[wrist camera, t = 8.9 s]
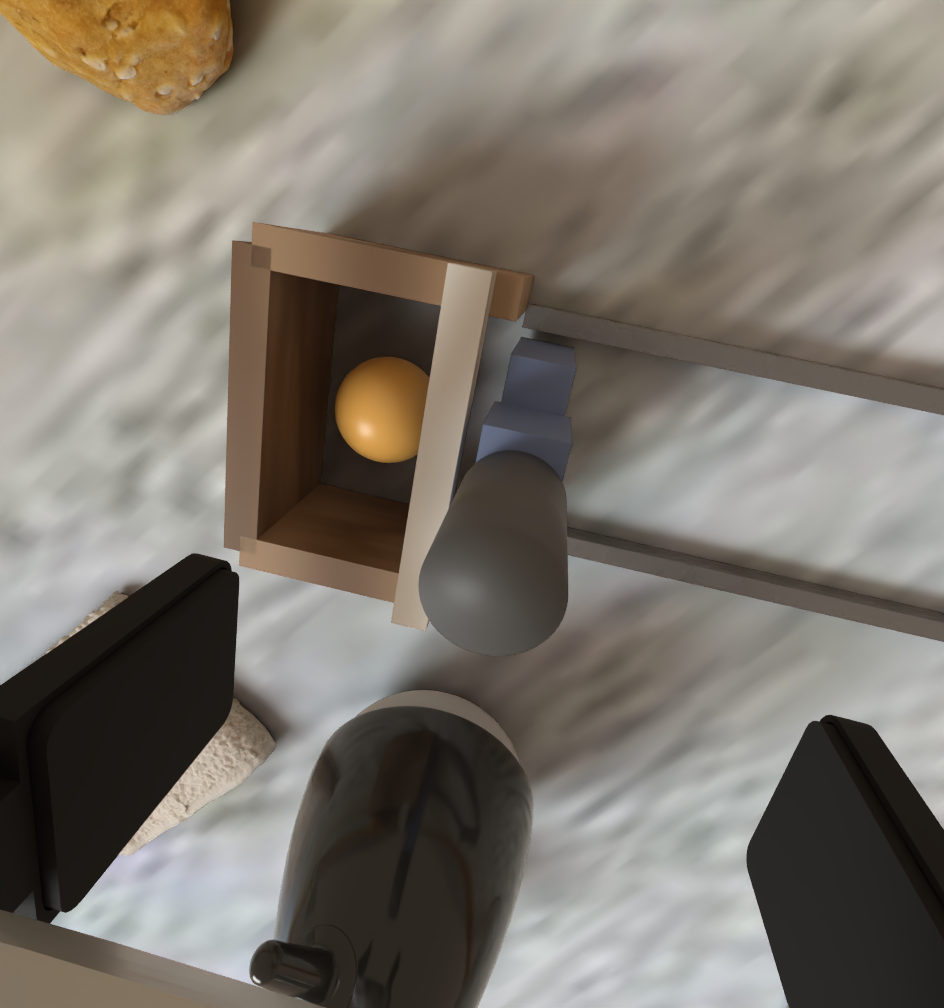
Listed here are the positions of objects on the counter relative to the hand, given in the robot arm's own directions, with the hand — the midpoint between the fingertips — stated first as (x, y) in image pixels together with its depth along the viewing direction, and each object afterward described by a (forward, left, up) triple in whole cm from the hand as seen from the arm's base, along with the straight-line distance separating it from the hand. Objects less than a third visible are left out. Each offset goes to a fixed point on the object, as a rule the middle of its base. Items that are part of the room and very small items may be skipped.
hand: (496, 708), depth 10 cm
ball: (+6, -1, -14) cm, 15 cm away
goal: (+6, -1, -16) cm, 17 cm away
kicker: (0, -1, -16) cm, 16 cm away
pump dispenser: (+2, +16, -16) cm, 23 cm away
